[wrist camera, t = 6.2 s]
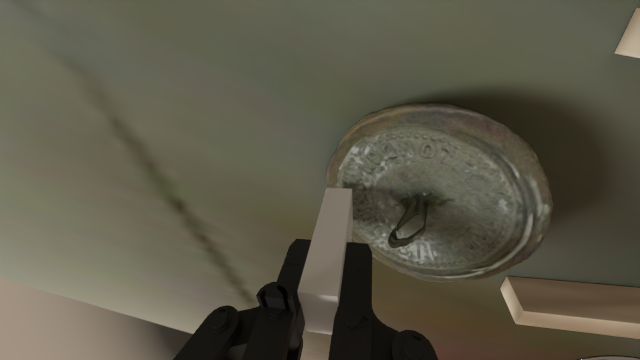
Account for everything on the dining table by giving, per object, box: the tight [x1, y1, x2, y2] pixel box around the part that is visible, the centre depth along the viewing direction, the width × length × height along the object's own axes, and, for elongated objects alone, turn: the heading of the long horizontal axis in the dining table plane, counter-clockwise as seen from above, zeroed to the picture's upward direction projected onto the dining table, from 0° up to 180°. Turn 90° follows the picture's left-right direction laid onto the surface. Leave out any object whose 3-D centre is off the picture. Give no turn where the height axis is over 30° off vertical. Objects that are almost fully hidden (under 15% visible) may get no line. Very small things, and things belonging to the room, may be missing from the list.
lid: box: [326, 103, 554, 282], centre depth 13 cm, size 10×10×5 cm
